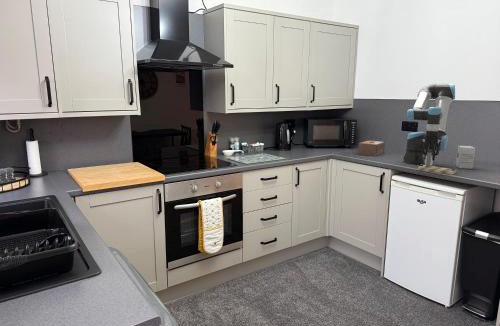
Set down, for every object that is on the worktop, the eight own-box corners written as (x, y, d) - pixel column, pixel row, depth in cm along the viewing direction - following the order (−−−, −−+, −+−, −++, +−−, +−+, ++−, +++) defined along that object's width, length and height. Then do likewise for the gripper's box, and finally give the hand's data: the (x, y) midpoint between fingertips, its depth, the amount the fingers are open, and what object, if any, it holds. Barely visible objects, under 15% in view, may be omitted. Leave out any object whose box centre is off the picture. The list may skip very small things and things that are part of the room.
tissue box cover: (374, 156, 292) (375, 144, 290) (358, 154, 301) (358, 143, 299) (383, 152, 313) (384, 141, 311) (367, 151, 321) (368, 140, 319)
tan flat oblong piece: (417, 169, 238) (418, 165, 237) (422, 167, 245) (422, 163, 245) (452, 174, 224) (452, 169, 223) (456, 172, 231) (456, 167, 230)
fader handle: (425, 166, 237) (427, 150, 235) (427, 165, 240) (429, 150, 238) (429, 167, 235) (431, 151, 233) (431, 166, 238) (433, 150, 236)
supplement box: (455, 165, 255) (457, 145, 252) (469, 166, 252) (471, 146, 249) (458, 168, 246) (461, 147, 243) (473, 168, 244) (476, 147, 241)
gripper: (418, 129, 236) (414, 164, 240) (443, 131, 225) (439, 167, 229) (422, 129, 241) (418, 162, 245) (447, 131, 230) (442, 165, 235)
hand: (428, 164), depth 237 cm, fingers closed on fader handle, 2 cm apart
